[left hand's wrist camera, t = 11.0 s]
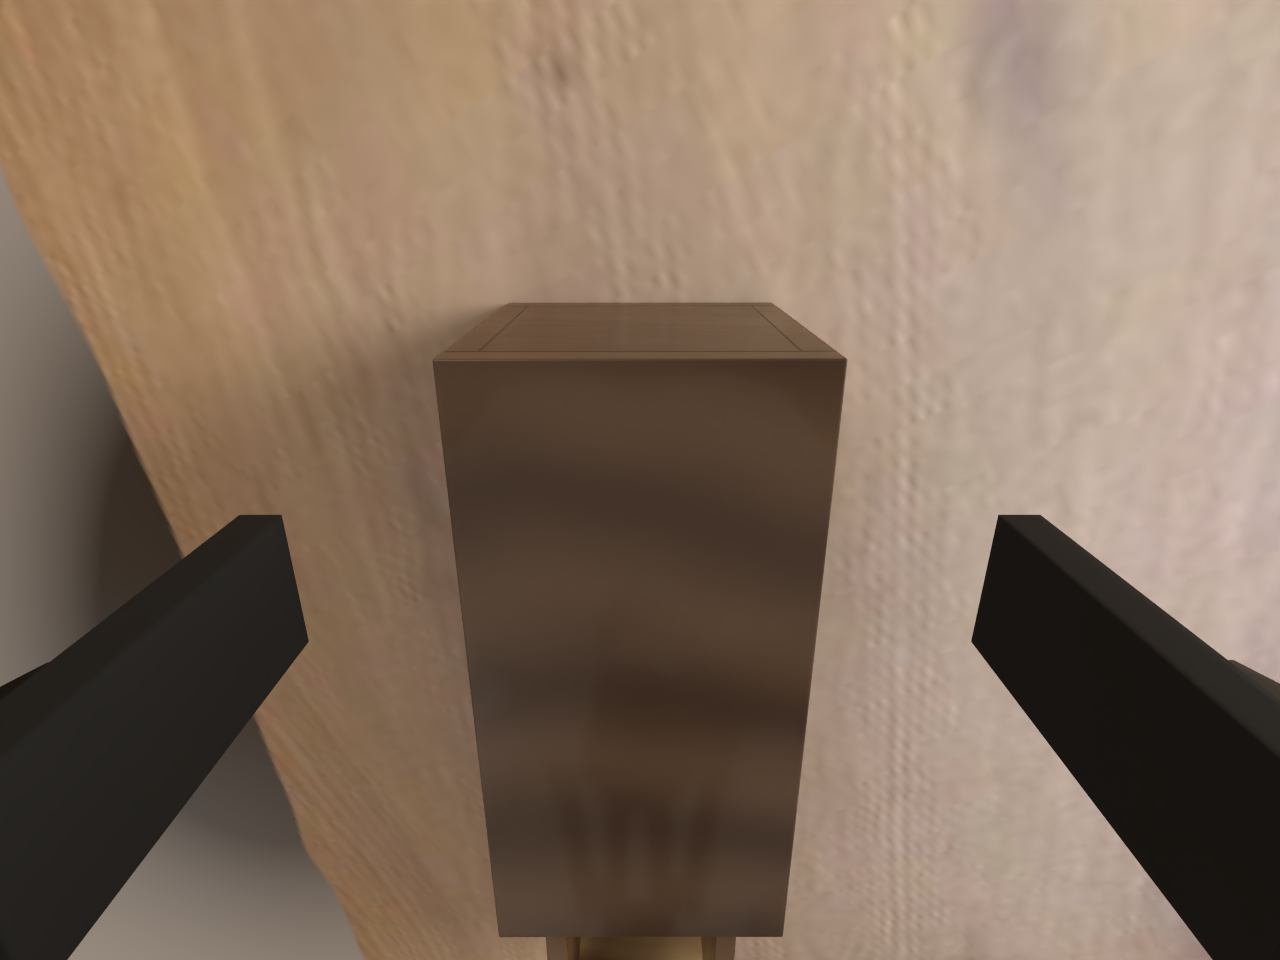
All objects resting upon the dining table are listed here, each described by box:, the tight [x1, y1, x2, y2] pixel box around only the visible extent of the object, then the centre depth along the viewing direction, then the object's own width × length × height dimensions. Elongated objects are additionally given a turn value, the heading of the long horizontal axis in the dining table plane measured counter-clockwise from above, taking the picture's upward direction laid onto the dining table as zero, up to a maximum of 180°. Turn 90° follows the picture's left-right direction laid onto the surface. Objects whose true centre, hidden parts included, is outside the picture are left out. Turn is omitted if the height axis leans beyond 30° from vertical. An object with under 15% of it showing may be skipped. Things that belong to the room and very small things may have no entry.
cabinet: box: [433, 303, 847, 937], centre depth 26 cm, size 21×10×10 cm, turn 0°
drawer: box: [546, 937, 736, 960], centre depth 31 cm, size 25×9×8 cm, turn 0°
